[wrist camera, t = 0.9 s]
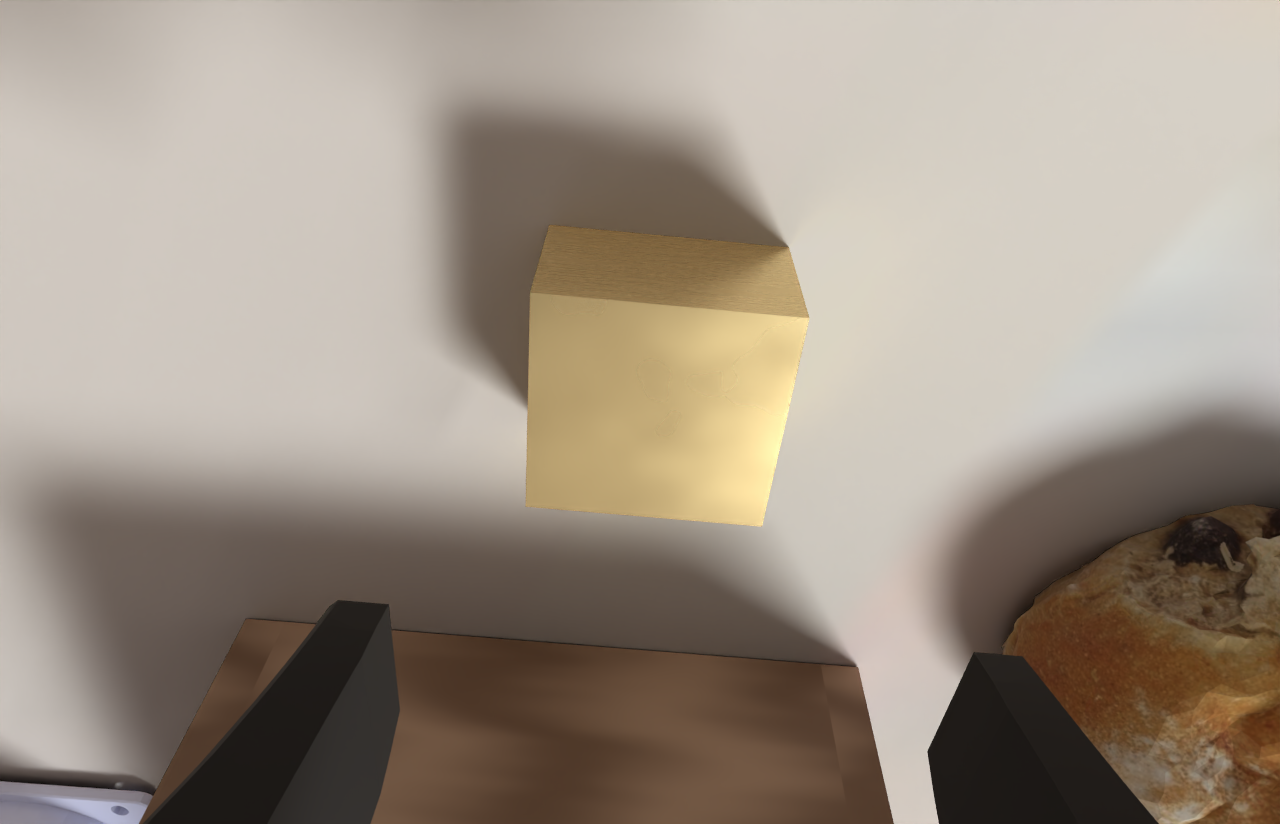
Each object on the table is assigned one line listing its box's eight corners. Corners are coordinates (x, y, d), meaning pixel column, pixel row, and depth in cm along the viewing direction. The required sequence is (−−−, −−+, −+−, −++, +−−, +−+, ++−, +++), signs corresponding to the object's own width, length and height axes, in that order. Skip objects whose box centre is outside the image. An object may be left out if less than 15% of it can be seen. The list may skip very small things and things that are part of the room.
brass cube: (543, 416, 19) (525, 506, 16) (550, 220, 16) (530, 292, 14) (749, 433, 19) (761, 526, 16) (787, 242, 16) (809, 318, 14)
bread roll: (914, 566, 26) (910, 863, 22) (1213, 412, 17) (1300, 855, 13) (1185, 651, 28) (1229, 940, 24) (1576, 551, 19) (1754, 977, 15)
